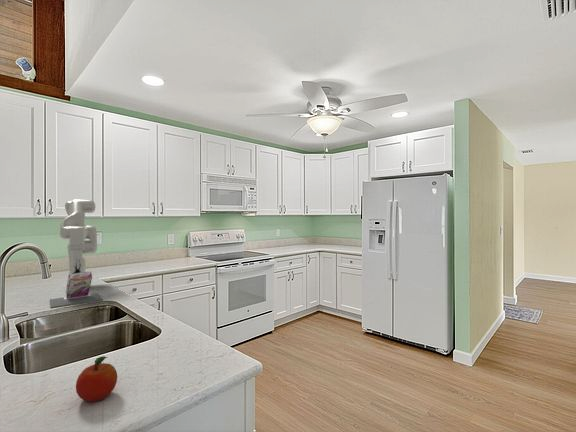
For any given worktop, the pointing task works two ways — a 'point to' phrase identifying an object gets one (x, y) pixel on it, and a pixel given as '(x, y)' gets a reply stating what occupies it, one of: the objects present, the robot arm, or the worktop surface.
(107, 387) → the fruit
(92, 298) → the mat
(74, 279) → the candy bar box
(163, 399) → the worktop surface
